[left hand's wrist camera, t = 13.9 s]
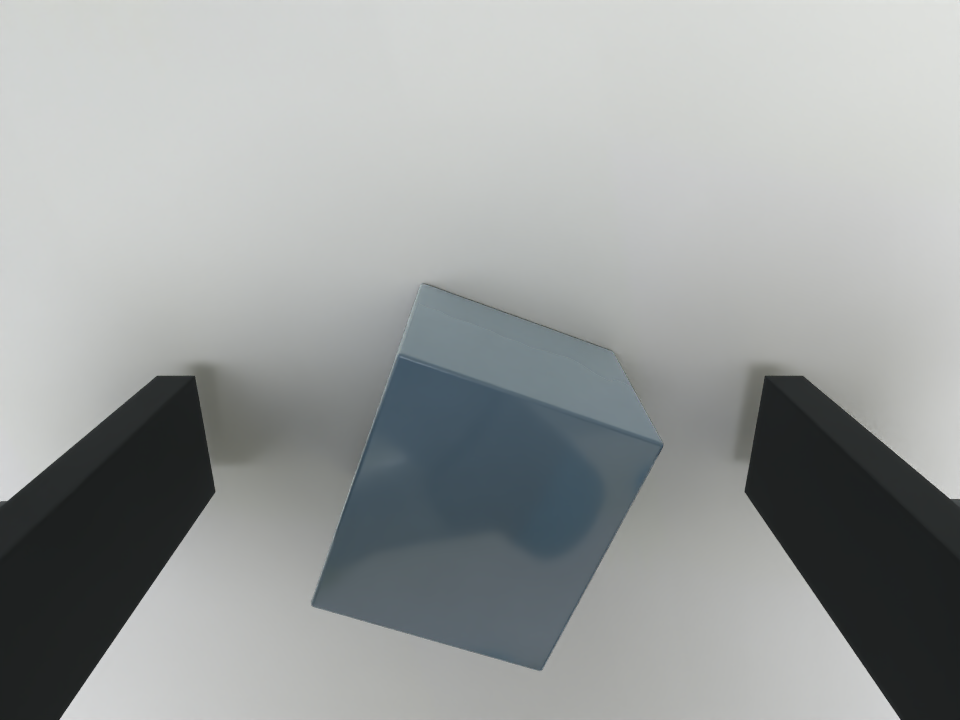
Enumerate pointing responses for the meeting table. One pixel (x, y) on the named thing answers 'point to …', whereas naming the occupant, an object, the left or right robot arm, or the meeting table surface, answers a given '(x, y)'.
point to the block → (487, 483)
